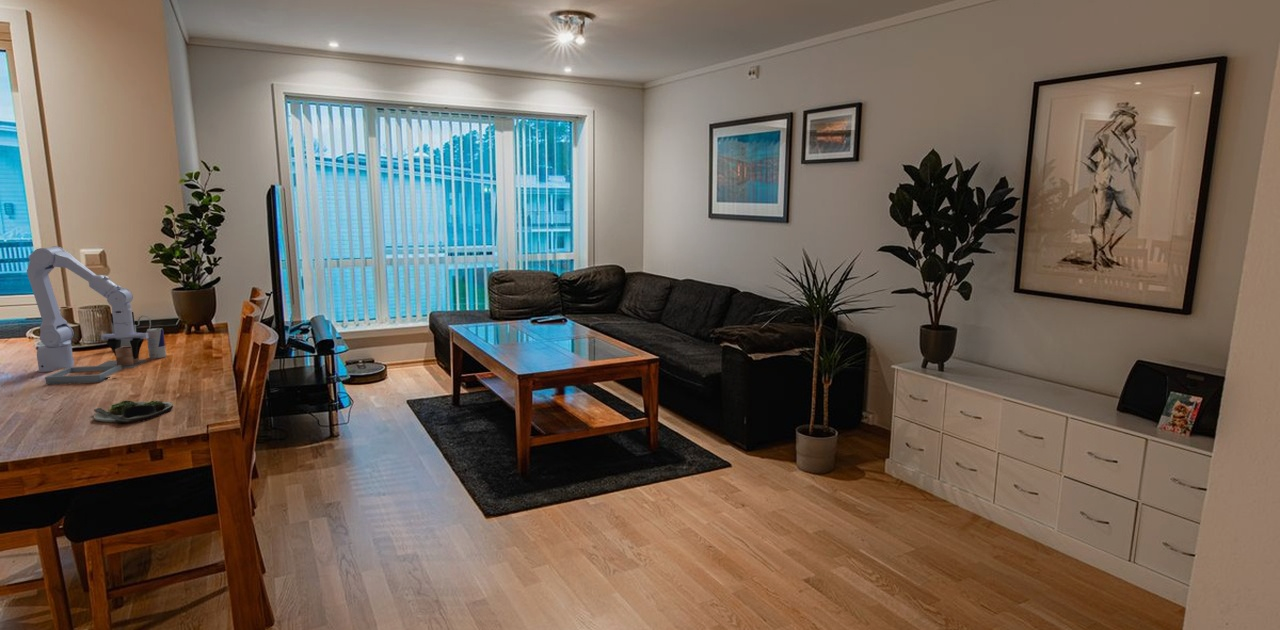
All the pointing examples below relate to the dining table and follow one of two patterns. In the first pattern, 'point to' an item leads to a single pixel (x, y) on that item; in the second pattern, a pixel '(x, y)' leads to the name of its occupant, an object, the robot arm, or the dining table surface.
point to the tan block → (125, 356)
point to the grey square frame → (61, 379)
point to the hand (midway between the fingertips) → (127, 358)
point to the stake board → (114, 362)
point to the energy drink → (156, 343)
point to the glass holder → (127, 341)
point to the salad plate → (132, 411)
